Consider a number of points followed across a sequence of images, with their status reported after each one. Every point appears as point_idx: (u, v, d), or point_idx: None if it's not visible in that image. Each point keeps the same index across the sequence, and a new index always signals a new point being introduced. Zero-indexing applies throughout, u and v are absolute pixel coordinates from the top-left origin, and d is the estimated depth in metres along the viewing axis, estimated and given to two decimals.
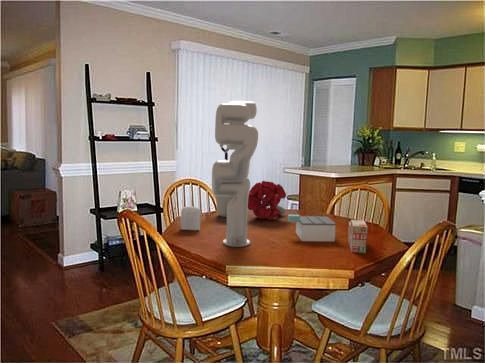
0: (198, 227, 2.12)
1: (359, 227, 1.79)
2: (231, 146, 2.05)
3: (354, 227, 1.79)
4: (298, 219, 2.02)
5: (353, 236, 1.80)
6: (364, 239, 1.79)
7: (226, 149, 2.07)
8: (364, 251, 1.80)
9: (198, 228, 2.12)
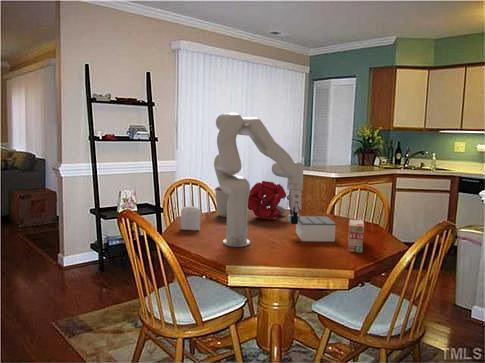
0: (198, 227, 2.12)
1: (356, 226, 1.80)
2: None
3: (351, 226, 1.80)
4: (298, 219, 2.02)
5: (350, 235, 1.81)
6: (361, 239, 1.80)
7: (297, 212, 2.00)
8: (361, 251, 1.81)
9: (198, 228, 2.12)
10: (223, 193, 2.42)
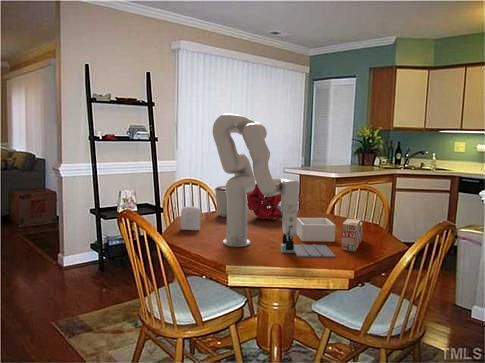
0: (198, 227, 2.12)
1: (348, 225, 1.82)
2: None
3: (343, 225, 1.83)
4: None
5: (342, 234, 1.84)
6: (353, 237, 1.82)
7: None
8: (353, 250, 1.82)
9: (198, 228, 2.12)
10: (223, 193, 2.42)
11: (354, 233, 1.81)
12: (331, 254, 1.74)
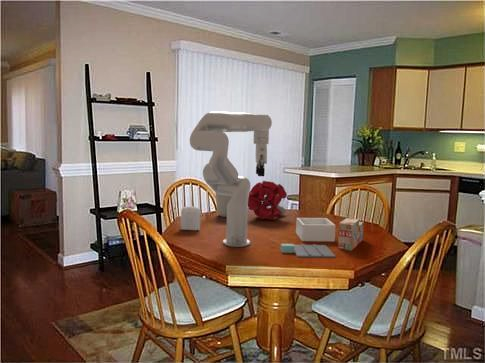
0: (198, 227, 2.12)
1: (345, 224, 1.83)
2: None
3: (340, 224, 1.84)
4: (292, 249, 1.78)
5: (339, 233, 1.85)
6: (349, 237, 1.83)
7: None
8: (350, 249, 1.83)
9: (198, 228, 2.12)
10: None
11: (350, 232, 1.82)
12: (331, 254, 1.74)
